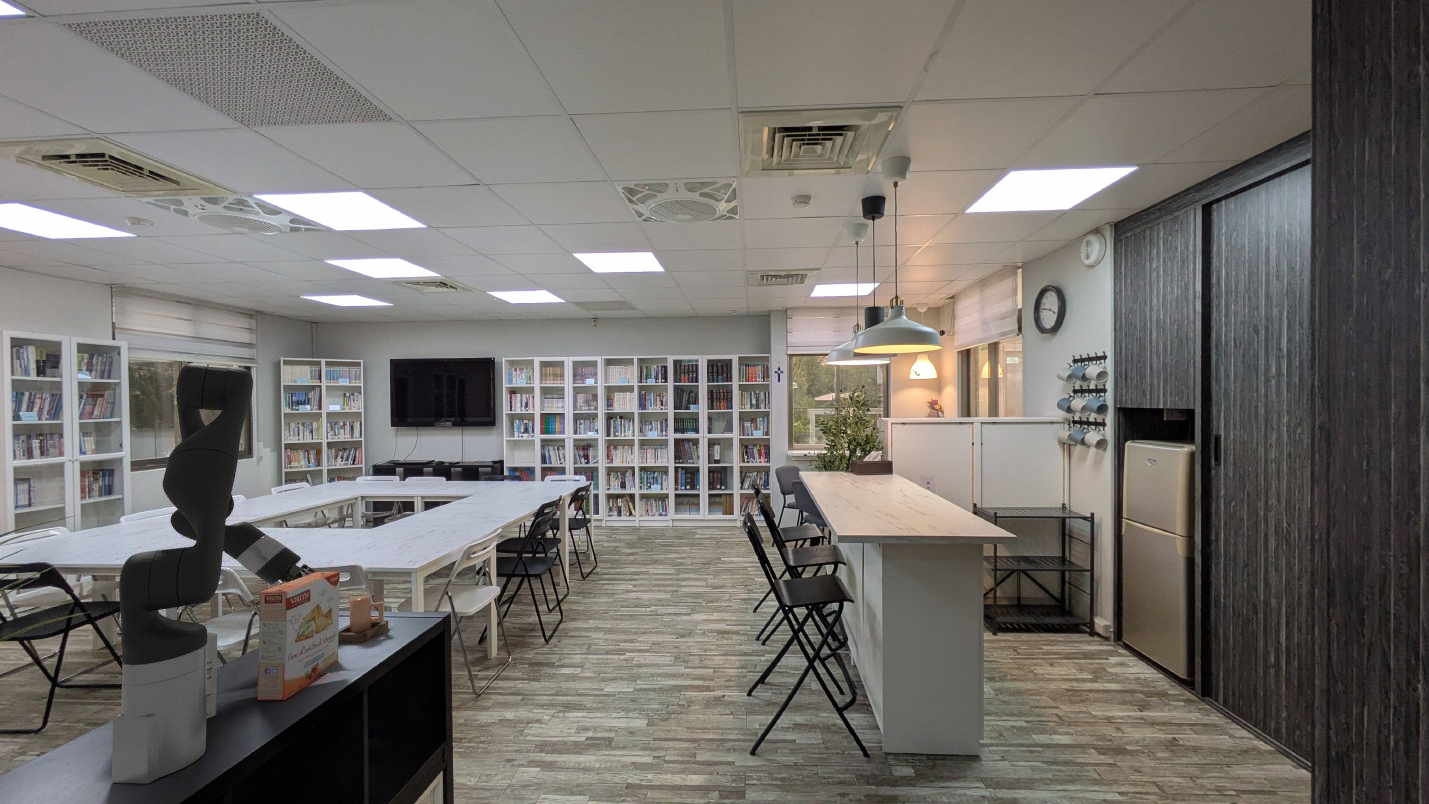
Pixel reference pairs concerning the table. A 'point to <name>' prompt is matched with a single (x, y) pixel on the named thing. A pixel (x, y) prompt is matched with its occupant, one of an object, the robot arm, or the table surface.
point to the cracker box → (297, 634)
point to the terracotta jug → (363, 613)
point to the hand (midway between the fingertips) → (329, 600)
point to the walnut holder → (364, 637)
